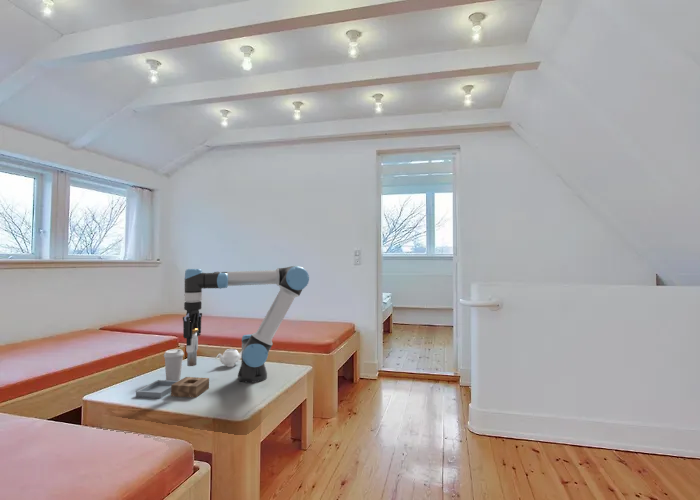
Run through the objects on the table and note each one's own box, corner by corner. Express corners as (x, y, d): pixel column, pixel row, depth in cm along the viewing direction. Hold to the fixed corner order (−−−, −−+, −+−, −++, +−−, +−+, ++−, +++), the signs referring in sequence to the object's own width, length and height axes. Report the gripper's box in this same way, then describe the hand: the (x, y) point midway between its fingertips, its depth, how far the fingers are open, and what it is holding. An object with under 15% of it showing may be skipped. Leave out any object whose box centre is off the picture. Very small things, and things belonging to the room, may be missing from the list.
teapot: (210, 367, 211) (211, 351, 211) (240, 360, 226) (241, 345, 226) (219, 371, 204) (219, 354, 205) (249, 363, 220) (250, 348, 220)
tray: (180, 386, 179) (181, 381, 179) (160, 398, 163) (160, 392, 163) (158, 385, 180) (158, 380, 181) (135, 397, 165) (136, 391, 165)
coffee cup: (175, 384, 182) (175, 353, 183) (158, 382, 184) (159, 352, 185) (187, 378, 192) (188, 349, 192) (171, 376, 194) (172, 348, 194)
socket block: (208, 388, 177) (209, 378, 177) (196, 397, 165) (196, 386, 165) (185, 387, 178) (185, 376, 178) (171, 396, 166) (171, 385, 166)
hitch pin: (199, 363, 174) (200, 328, 175) (194, 366, 169) (194, 330, 170) (189, 363, 175) (190, 327, 175) (183, 366, 170) (184, 329, 170)
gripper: (194, 299, 182) (194, 346, 181) (175, 303, 165) (174, 355, 164) (209, 299, 181) (208, 346, 180) (190, 303, 164) (189, 355, 163)
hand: (192, 350), depth 172 cm, fingers closed on hitch pin, 4 cm apart
